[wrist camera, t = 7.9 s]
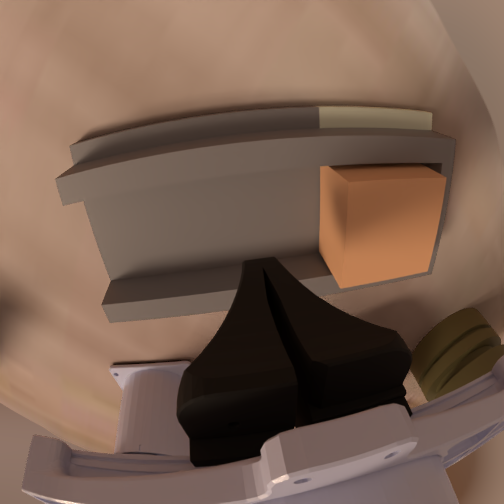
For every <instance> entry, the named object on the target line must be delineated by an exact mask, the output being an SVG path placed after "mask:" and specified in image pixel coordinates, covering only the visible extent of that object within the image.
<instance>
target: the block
mask: <svg viewBox="0 0 504 504" xmlns="http://www.w3.org/2000/svg"><path fill="white" fill-rule="evenodd" d="M445 185H446V177H445V176H443V175H441V174H439V173H437V172H435V171H434V170H432V169H430V168H428V167H426V166H424V165H422V164H420V163H378V164H353V165H335V166H320V232H319V252H320V254H321V255H322V257H323V259H324V261H325V262H326V264H327V266H328V268H329V269H330V271H331V273H332V275H333V276H334V278H335V280H336V282H337V283H338V285H339V287H340V289H342V288H347V287H353V286H358V285H363V284H369V283H374V282H379V281H384V280H389V279H394V278H399V277H404V276H408V275H413V274H418V273H422V272H427V271H428V268H429V264H430V260H431V256H432V252H433V248H434V244H435V239H436V235H437V230H438V225H439V220H440V215H441V210H442V204H443V198H444V192H445Z"/></svg>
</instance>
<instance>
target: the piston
mask: <svg viewBox="0 0 504 504" xmlns="http://www.w3.org/2000/svg"><path fill="white" fill-rule="evenodd" d="M503 355H504V345H501V339H500V337H499V336H498V335H497V333H496V332H495V331H494V330H493V329H492V328H491V326H490V325H489V323H488V322H487V321H486V320H485V319H484V317H483V316H482V315H481V314H480V313H479V311H478V310H476V309H474V308H466V309H463V310H460V311H458V312H456V313H454V314H452V315H450V316H449V317H447V318H446V319H444V320H443V321H442V322H440V323H439V324H438V325H437V326H435V327H434V328H433V329H432V330H431V331H430V332H429V333H428V334H427V335H426V336H425V337H424V338H423V339H422V340H421V342H420V343H419V344H418V346H417V347H416V349H415V350H414V352H413V354H412V363H411V366H410V370H411V372H412V373H413V375H414V377H415V379H416V381H417V383H418V384H419V386H420V388H421V390H422V392H423V394H424V396H425V398H426V399H427V401H429V402H430V401H432V400H434V399H436V398H439V397H441V396H443V395H445V394H447V393H450V392H452V391H454V390H456V389H458V388H460V387H462V386H464V385H466V384H468V383H470V382H472V381H474V380H476V379H477V378H479V377H481V376H483V375H485V374H487V373H488V372H490V371H492V368H493V366H494V365H495V363H496V362H497V361H498V360H499V359H500V358H501V357H502V356H503Z"/></svg>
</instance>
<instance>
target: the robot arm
mask: <svg viewBox="0 0 504 504" xmlns="http://www.w3.org/2000/svg"><path fill="white" fill-rule="evenodd" d="M411 363H412V354H411V352H410V350H409V349H408V347H407V345H406V344H405V342H404V341H403V339H402V338H401V337H400V335H399V334H398V333H397V331H394V330H391V329H387V328H384V327H380V326H377V325H374V324H371V323H368V322H366V321H363V320H361V319H358V318H356V317H354V316H351V315H349V314H347V313H345V312H343V311H341V310H339V309H337V308H336V307H334V306H332V305H330V304H329V303H327V302H326V301H324V300H323V299H321V298H319V297H318V296H317V295H315V294H314V293H313V292H312V291H310V290H309V289H308V288H306V287H305V286H304V285H303V284H302V283H301V282H300V281H298V280H297V279H296V278H295V277H294V276H293V275H292V274H291V273H290V272H289V271H288V270H287V269H286V268H285V267H284V266H283V265H282V264H281V263H280V262H279V260H278V259H277V258H275V257H274V256H273V257H266V258H259V259H252V260H245V261H243V263H242V273H241V278H240V282H239V286H238V289H237V292H236V295H235V298H234V300H233V303H232V305H231V308H230V310H229V312H228V314H227V316H226V318H225V320H224V321H223V323H222V325H221V326H220V328H219V330H218V331H217V333H216V334H215V336H214V337H213V339H212V340H211V341H210V343H209V344H208V345H207V346H206V348H205V349H204V350H203V351H202V353H201V354H200V355H199V356H198V357H197V358H196V359H195V360H194V361H193V362H192V363H191V362H189V361H178V362H165V363H150V364H131V365H111V366H110V368H109V371H110V373H111V374H112V376H113V377H114V379H115V380H116V382H117V383H118V384H119V386H120V387H121V389H122V390H123V394H122V400H121V406H120V413H119V420H118V427H117V435H116V443H115V452H114V454H107V453H96V452H88V451H80V450H73V449H71V448H70V447H69V446H68V445H67V444H66V443H64V442H63V441H61V440H59V439H56V438H51V437H46V436H40V435H33V437H32V441H31V445H30V449H29V454H28V458H27V463H26V468H25V473H24V478H23V484H22V491H23V492H25V493H27V494H28V495H30V496H32V497H34V498H36V499H38V500H40V501H42V502H44V503H46V504H459V502H458V499H457V497H456V495H455V492H454V490H453V487H452V485H451V482H450V480H449V478H448V476H447V473H446V471H445V469H446V468H447V467H449V466H451V465H452V464H454V463H456V462H457V461H459V460H461V459H462V458H464V457H465V456H467V455H469V454H470V453H472V452H473V451H475V450H476V449H478V448H479V447H481V446H482V445H484V444H485V443H486V442H488V441H489V440H490V439H492V438H493V437H495V436H496V435H498V434H499V433H500V432H502V431H503V430H504V355H503V356H502V357H501V358H500V359H499V360H498V361H497V362H496V363H495V365H494V366H493V368H492V371H490V372H488V373H487V374H485V375H483V376H481V377H479V378H477V379H476V380H474V381H472V382H470V383H468V384H466V385H464V386H462V387H460V388H458V389H456V390H454V391H452V392H450V393H447V394H445V395H443V396H441V397H439V398H436V399H434V400H432V401H430V402H427V403H425V404H422V405H420V406H418V407H415V408H413V409H410V407H409V405H408V403H407V401H406V399H405V397H404V396H405V395H406V390H405V388H404V386H403V381H404V379H405V377H406V375H407V373H408V371H409V369H410V366H411ZM294 427H296V428H295V429H294Z"/></svg>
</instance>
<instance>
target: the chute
mask: <svg viewBox="0 0 504 504" xmlns="http://www.w3.org/2000/svg"><path fill="white" fill-rule="evenodd" d="M455 145H456V139H453V138H451V137H448V136H445V135H443V134H440V133H437V132H434V131H432V113H430V112H426V111H421V110H411V109H400V108H387V107H368V106H294V107H275V108H261V109H249V110H239V111H229V112H221V113H213V114H206V115H199V116H192V117H186V118H180V119H174V120H168V121H163V122H158V123H153V124H148V125H143V126H138V127H134V128H129V129H125V130H121V131H117V132H113V133H109V134H105V135H101V136H97V137H94V138H90V139H86V140H83V141H79V142H76V143H74V144H72V145H70V151H71V155H72V159H73V164H74V166H73V167H71V168H70V169H68V170H67V171H65V172H64V173H63V174H61V175H60V176H59V177H57V178H56V179H55V180H56V184H57V187H58V191H59V194H60V198H61V201H62V204H63V206H64V205H69V204H73V203H77V202H81V201H84V205H85V208H86V211H87V215H88V218H89V221H90V224H91V227H92V230H93V233H94V236H95V239H96V242H97V245H98V248H99V251H100V254H101V256H102V259H103V262H104V264H105V267H106V270H107V272H108V275H109V278H110V280H111V282H110V285H109V287H108V290H107V292H106V295H105V297H104V300H103V302H102V307H103V309H104V312H105V314H106V316H107V318H108V320H109V322H110V323H114V322H126V321H137V320H148V319H158V318H168V317H177V316H186V315H195V314H203V313H211V312H219V311H227V310H230V308H231V305H232V303H233V300H234V298H235V295H236V292H237V289H238V286H239V282H240V278H241V273H242V263H243V261H245V260H252V259H259V258H266V257H273V256H274V257H275V258H277V259H278V260H279V262H280V263H281V264H282V265H283V266H284V267H285V268H286V269H287V270H288V271H289V272H290V273H291V274H292V275H293V276H294V277H295V278H296V279H297V280H298V281H300V282H301V283H302V284H303V285H304V286H305V287H306V288H308V289H309V290H310V291H312V292H313V293H314V294H315V295H317V296H318V297H319V296H325V295H330V294H336V293H341V292H347V291H352V290H357V289H363V288H368V287H373V286H378V285H383V284H388V283H393V282H397V281H402V280H407V279H411V278H416V277H420V276H425V275H429V274H432V270H433V266H434V263H435V259H436V255H437V251H438V247H439V243H440V238H441V234H442V229H443V225H444V220H445V215H446V210H447V204H448V198H449V192H450V186H451V179H452V172H453V164H454V155H455ZM378 163H420V164H422V165H424V166H426V167H428V168H430V169H432V170H434V171H435V172H437V173H439V174H441V175H443V176H445V177H446V185H445V192H444V198H443V204H442V210H441V215H440V220H439V225H438V230H437V235H436V239H435V244H434V248H433V252H432V256H431V260H430V264H429V268H428V271H427V272H422V273H418V274H413V275H408V276H404V277H399V278H394V279H389V280H384V281H379V282H374V283H369V284H363V285H358V286H353V287H347V288H342V289H340V287H339V285H338V283H337V282H336V280H335V278H334V276H333V275H332V273H331V271H330V269H329V268H328V266H327V264H326V262H325V261H324V259H323V257H322V255H321V254H320V252H319V232H320V166H335V165H353V164H378Z"/></svg>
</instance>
